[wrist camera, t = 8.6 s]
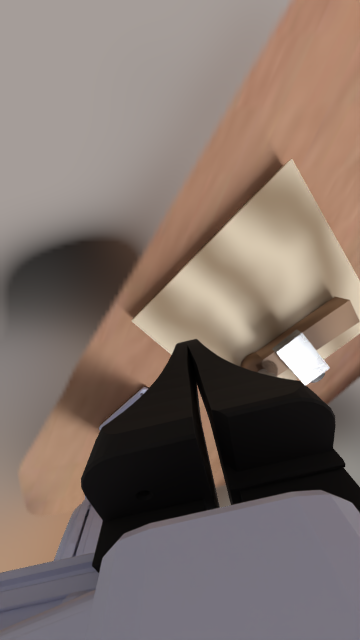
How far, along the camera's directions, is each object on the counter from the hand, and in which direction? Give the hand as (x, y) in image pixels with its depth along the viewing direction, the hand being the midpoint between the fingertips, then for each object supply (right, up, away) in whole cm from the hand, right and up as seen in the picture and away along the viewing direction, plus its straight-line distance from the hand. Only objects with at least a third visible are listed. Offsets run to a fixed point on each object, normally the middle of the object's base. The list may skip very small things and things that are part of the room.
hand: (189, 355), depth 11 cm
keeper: (+12, -1, +10) cm, 15 cm away
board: (+8, +3, +10) cm, 13 cm away
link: (+12, 0, +9) cm, 15 cm away
